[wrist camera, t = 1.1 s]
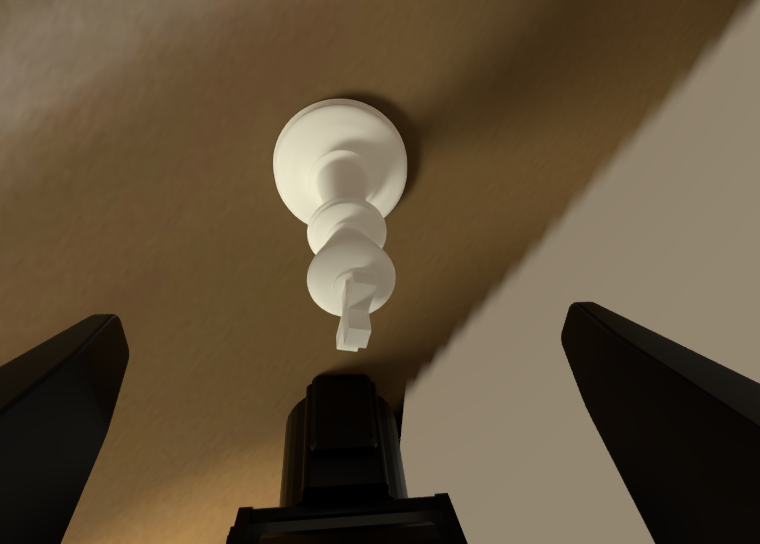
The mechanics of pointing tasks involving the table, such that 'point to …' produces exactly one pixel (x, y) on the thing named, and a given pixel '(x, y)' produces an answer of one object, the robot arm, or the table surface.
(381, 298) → the chess piece
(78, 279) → the table surface
